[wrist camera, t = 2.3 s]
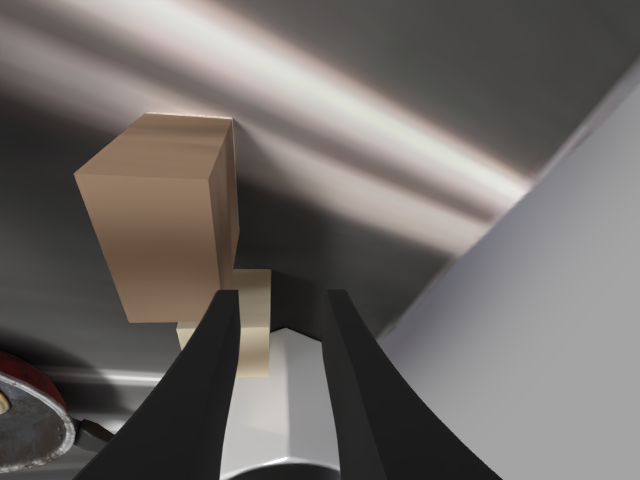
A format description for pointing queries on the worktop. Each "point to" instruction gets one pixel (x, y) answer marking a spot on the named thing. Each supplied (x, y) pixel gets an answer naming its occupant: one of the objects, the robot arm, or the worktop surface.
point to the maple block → (247, 321)
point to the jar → (283, 417)
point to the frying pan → (38, 419)
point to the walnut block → (166, 213)
